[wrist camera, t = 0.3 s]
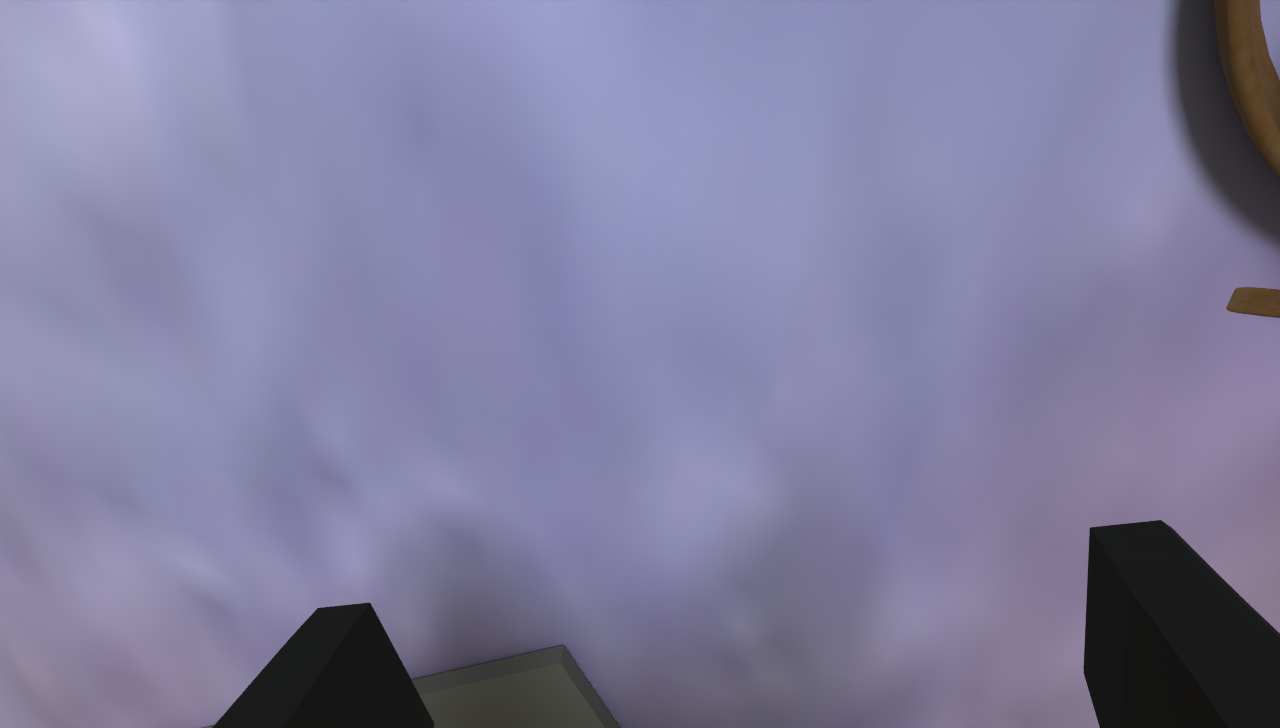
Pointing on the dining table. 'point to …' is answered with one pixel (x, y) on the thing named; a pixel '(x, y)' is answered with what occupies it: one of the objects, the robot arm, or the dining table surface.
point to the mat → (515, 694)
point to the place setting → (1251, 109)
